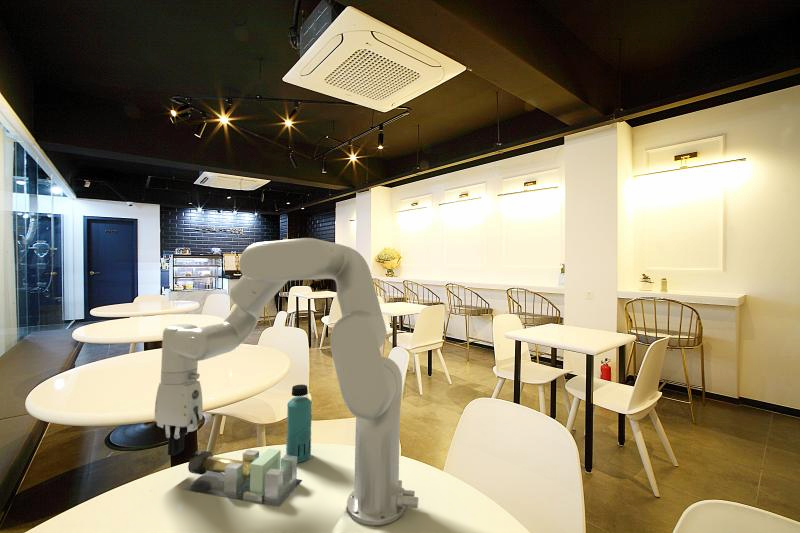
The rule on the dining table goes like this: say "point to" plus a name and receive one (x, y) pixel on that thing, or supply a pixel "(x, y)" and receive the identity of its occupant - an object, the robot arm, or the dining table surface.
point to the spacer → (263, 469)
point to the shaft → (213, 464)
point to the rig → (238, 487)
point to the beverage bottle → (299, 424)
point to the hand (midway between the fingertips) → (176, 452)
